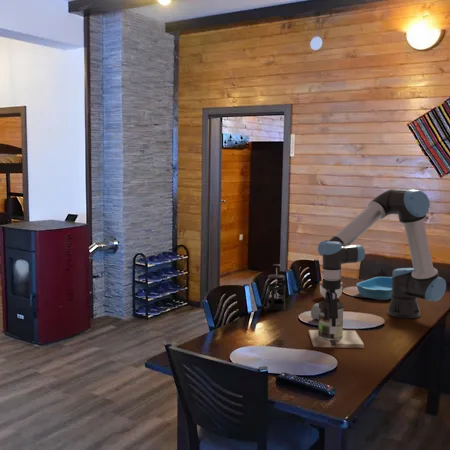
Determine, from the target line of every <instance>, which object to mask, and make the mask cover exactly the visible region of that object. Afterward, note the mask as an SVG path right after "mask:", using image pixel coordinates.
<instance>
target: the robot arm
mask: <svg viewBox="0 0 450 450" xmlns="http://www.w3.org/2000/svg"><path fill="white" fill-rule="evenodd" d="M429 208H430V199H429V197H428V195H427V194H426V193H425V192H424V191H422V190H420V189H413V188H411V189H403V188H391V189H389V190H386V191H383V192H382V193H380V194H378V195H377V196H376V197H375V198H373V199H372V200H371V201H369V203H368V206H367V207H366V208H365V209H364V210H362V212H360V213H359V214H358V215H357V216H356V217H354V218H353V219H352V220H351V221H350V222H349V223H348V224H347V225H345V226H344V227H343V228H342V229H340V231H338V232H337V233H336V234H334V236H333V237H331V238H330V239H329V240H328V239H326V240H322V241H320V242H319V243H318V246H317V252H318V254H319V255H320V256H321V257H322V270H320V274H322V280H321V281H322V287H323V288H324V289H326V295H325V299H324V301H327V302H328V303H329V305H330V316H329V319H330V334H337V318H338V310H337V302H338V298H337V293H336V292H335V290H336V289H337V290H338V289H340V288H341V282H342V281H341V279H342V264H343V265H344V264H352V263H354V264H355V263H360V262H362V261H363V260H364V259H365V257H366V251H365V248H364V246H363V245H361V244H355V243H354V242H355V241H356V240H357V239H358V238H360V237H361V236H362V235H363V234H364V233H366V231H367V230H369V229H370V228H371V227H372V226H373V225H374V224H375V223H376V222H378V221H379V220H383V219H384V218H385V217H387V216H390V215H397V217H398V220H399V222H400V223H402V224H403V226H404V231H405V236H406V240H407V243H408V250H409V254H410V258H411V259H410V260H411V263H412V267H402V268H401V267H400V268H396V269H395V268H394V269H393V270H392V276H391V277H392V299H390V302H389V305H388V307H387V314H388V315H389V316H391V317H394V318H397V319H398V318H399V319H416V318H420V316H421V311H420V307H419V304H418V300H417V298H418V299H422V300H425V301H427V302H428V301H429V302H437V301H439V300H441V299H442V297H443V296H444V294H445V293H446V290H447V282H446V280H445V279H444V278H443V277H440V275H439V271H438V269H437V268H435V267H434V265H433V260H432V259H433V258H432V254H431V250H430V246H429V240H428V236H427V231H426V227H425V223H424V220H425V219H426V218H427V214H428V213H429V211H430V209H429ZM353 243H354V244H353Z"/></svg>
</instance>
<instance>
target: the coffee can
mask: <svg viewBox="0 0 450 450" xmlns="http://www.w3.org/2000/svg"><path fill="white" fill-rule="evenodd" d="M318 304H319V320H318V329H317V330H318V337H320V338H322V339H325V340H340V339H342V338H343V330H344V307H345V305H344V303H343V302H341V301H337V310H338V318H337V334H330V319H329V316H330V305H329V303H328V302H327V301H325V300H323V301H320V302H318Z"/></svg>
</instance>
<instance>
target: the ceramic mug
mask: <svg viewBox="0 0 450 450" xmlns="http://www.w3.org/2000/svg"><path fill="white" fill-rule="evenodd" d="M310 316H311V318H312V319H313V320H315V319H317V320H316V321H319V302H317V303H314V304H313V306H312V307H311V310H310Z"/></svg>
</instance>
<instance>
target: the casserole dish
mask: <svg viewBox="0 0 450 450" xmlns="http://www.w3.org/2000/svg"><path fill="white" fill-rule="evenodd" d="M356 287H357V291H358V293H359V295H360V296H361V297H363V298H368V299H374V300H379V301H388V300H391V299H392V276H376V277H372V278H368V279H366V280H363V281H360V282H357V283H356Z"/></svg>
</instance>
